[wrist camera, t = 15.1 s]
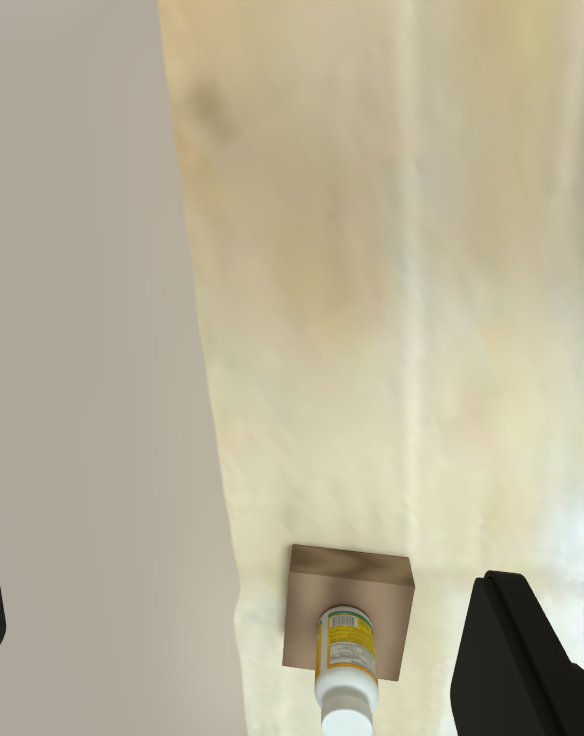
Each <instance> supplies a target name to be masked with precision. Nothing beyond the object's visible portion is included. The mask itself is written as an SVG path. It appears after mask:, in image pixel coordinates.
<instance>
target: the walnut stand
mask: <svg viewBox="0 0 584 736" xmlns="http://www.w3.org/2000/svg"><path fill="white" fill-rule="evenodd" d="M414 590H415V584H414V580H413V575H412V571H411V566H410V561H409V558H405V557H397V556H388V555H380V554H371V553H362V552H354V551H345V550H337V549H328V548H320V547H311V546H302V545H294V544H293V549H292V557H291V564H290V572H289V584H288V597H287V610H286V623H285V636H284V649H283V662H282V666H288V667H295V668H303V669H310V670H316V653H317V634H318V624H319V620H320V618H321V617H322V615H323V614H324V613H325V612H327V611H328V610H330V609H332V608H335V607H339V606H348V607H353V608H356V609H358V610H360V611H361V612H363V613H364V614H365V615H366V616H367V617H368V618H369V619H370V621H371V624H372V628H373V638H374V647H375V659H376V670H377V679H384V680H391V681H398V679H399V674H400V668H401V662H402V657H403V651H404V646H405V640H406V635H407V629H408V624H409V618H410V613H411V607H412V601H413V596H414Z"/></svg>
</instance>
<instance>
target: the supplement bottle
mask: <svg viewBox="0 0 584 736" xmlns="http://www.w3.org/2000/svg"><path fill="white" fill-rule="evenodd" d="M378 696H379V694H378V680H377V670H376V659H375V647H374V638H373V628H372V624H371V621H370V619H369V618H368V617H367V616H366V615H365V614H364V613H363V612H361V611H360V610H358V609H356V608H353V607H348V606H339V607H335V608H332V609H330V610H328V611H327V612H325V613H324V614H323V615H322V617H321V618H320V620H319V624H318V634H317V653H316V671H315V697H316V700H317V703H318V705H319V706H320V708H321V709H322V710H321V727H322V731H323V733H324V735H325V736H371V735H372V732H373V721H372V712H373V710H374V709H375V707H376V705H377V702H378Z"/></svg>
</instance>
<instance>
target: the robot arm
mask: <svg viewBox="0 0 584 736" xmlns="http://www.w3.org/2000/svg"><path fill="white" fill-rule="evenodd" d="M5 632H6V620H5V614H4V608H3V601H2V595H1V588H0V644H1V642H2V640H3V638H4V635H5ZM450 700H451V708H452V713H453V717H454V721H455V725H456V729H457V733H458V736H584V670H583V669H582V668H581V667H580V666H579V665H577V664H575V663H571V661H570V659H569V658H568V656H567V654H566V652H565V650H564V648H563V646H562V645H561V643H560V641H559V639H558V637H557V635H556V634H555V632H554V630H553V628H552V626H551V624H550V622H549V621H548V619H547V617H546V615H545V613H544V611H543V610H542V608H541V606H540V604H539V602H538V600H537V598H536V597H535V595H534V593H533V591H532V589H531V587H530V586H529V584H528V582H527V580H526V579H525V577H524V576H523V575H521V574H517V573H509V572H500V571H492V570H489V571H487V572H486V573H485V576H484V578H476V579H475V582H474V585H473V590H472V594H471V598H470V603H469V607H468V612H467V616H466V620H465V625H464V629H463V634H462V638H461V642H460V647H459V651H458V656H457V660H456V664H455V669H454V673H453V678H452V682H451V688H450Z"/></svg>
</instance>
